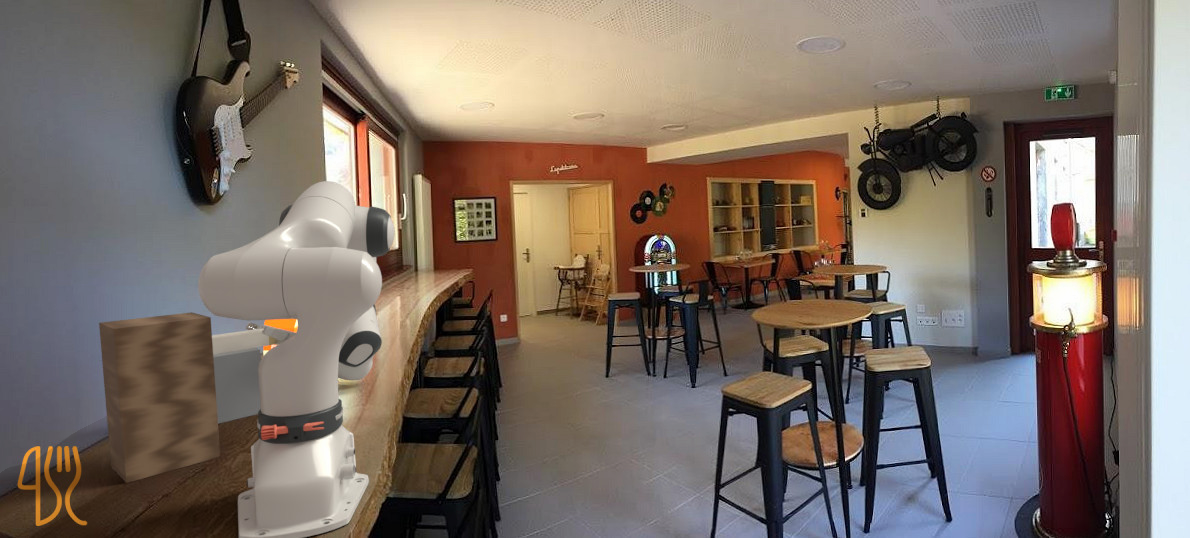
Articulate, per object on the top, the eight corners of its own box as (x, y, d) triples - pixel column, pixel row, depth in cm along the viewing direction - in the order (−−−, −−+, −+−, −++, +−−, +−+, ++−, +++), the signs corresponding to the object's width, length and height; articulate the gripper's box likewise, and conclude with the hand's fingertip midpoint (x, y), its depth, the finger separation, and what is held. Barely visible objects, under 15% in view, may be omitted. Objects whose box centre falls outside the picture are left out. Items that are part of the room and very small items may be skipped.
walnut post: (201, 444, 118) (191, 312, 115) (220, 456, 111) (210, 317, 109) (111, 467, 107) (99, 322, 105) (126, 483, 100) (113, 328, 98)
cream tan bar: (271, 342, 144) (270, 327, 143) (278, 343, 141) (277, 328, 141) (173, 357, 128) (171, 341, 128) (178, 360, 126) (177, 343, 126)
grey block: (246, 404, 143) (242, 344, 142) (264, 412, 137) (260, 349, 135) (198, 415, 135) (193, 351, 134) (214, 424, 129) (210, 357, 128)
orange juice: (297, 381, 163) (292, 308, 161) (264, 381, 163) (260, 308, 161) (311, 374, 171) (307, 304, 169) (280, 374, 171) (276, 304, 169)
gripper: (296, 331, 157) (244, 311, 147) (335, 341, 143) (281, 319, 134) (285, 354, 155) (232, 335, 145) (323, 366, 141) (267, 346, 132)
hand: (255, 327), depth 139 cm, fingers open, 8 cm apart
